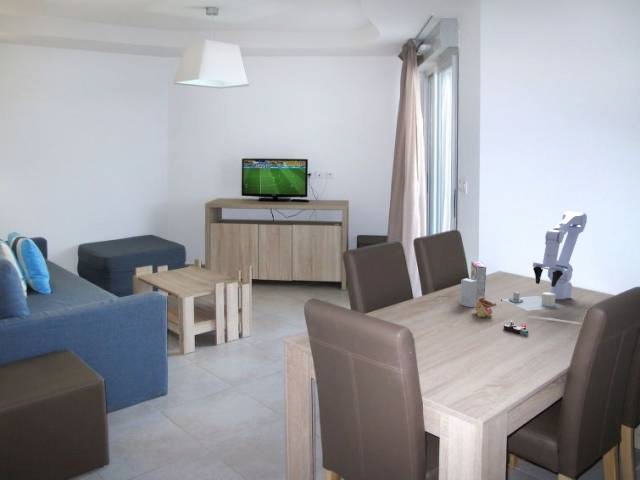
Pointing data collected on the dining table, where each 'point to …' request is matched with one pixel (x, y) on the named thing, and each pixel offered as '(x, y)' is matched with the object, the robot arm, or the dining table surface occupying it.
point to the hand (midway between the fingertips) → (545, 285)
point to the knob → (548, 299)
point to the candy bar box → (479, 277)
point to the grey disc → (516, 298)
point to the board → (532, 303)
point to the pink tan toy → (483, 307)
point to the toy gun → (516, 329)
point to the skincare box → (468, 292)
